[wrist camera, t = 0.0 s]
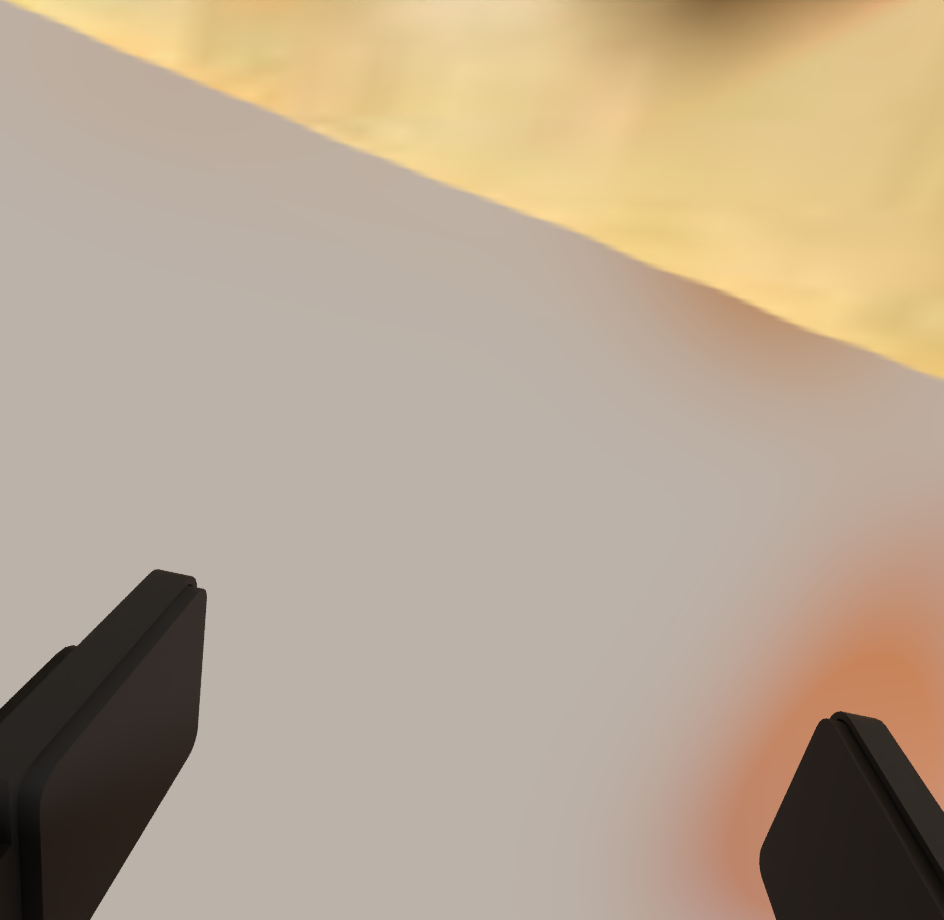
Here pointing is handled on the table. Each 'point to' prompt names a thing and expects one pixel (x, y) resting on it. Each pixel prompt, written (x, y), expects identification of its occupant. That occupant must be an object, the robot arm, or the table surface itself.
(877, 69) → the table surface
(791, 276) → the table surface
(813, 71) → the table surface
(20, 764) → the robot arm
